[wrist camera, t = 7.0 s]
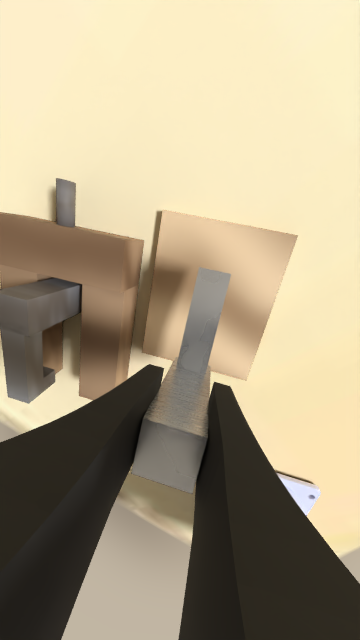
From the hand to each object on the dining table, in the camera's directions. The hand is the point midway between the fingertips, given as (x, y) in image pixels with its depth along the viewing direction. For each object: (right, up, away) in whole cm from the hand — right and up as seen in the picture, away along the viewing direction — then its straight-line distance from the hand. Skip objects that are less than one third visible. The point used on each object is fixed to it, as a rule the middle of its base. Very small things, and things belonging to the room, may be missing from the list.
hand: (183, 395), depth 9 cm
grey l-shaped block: (+1, +2, +3) cm, 4 cm away
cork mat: (+2, +4, +7) cm, 8 cm away
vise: (-8, +5, +8) cm, 12 cm away
